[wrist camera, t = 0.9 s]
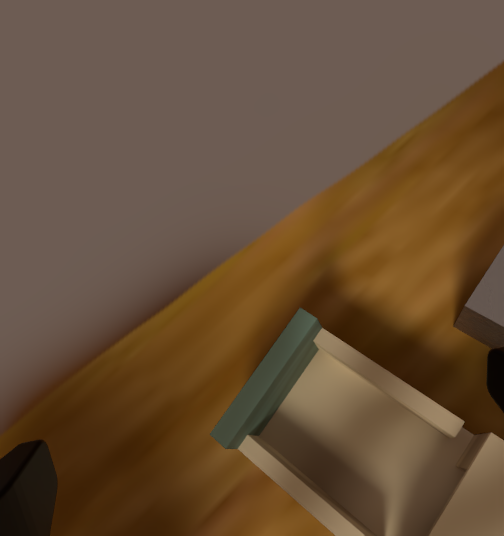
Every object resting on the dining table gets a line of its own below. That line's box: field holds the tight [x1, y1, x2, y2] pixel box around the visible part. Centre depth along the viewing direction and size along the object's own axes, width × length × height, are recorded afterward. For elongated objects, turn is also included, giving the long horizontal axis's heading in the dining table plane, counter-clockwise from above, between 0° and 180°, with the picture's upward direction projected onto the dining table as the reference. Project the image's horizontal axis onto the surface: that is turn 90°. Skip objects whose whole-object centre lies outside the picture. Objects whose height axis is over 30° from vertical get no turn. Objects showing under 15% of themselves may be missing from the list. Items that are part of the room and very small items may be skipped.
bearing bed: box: [210, 308, 504, 536], centre depth 19 cm, size 20×7×5 cm, turn 52°
